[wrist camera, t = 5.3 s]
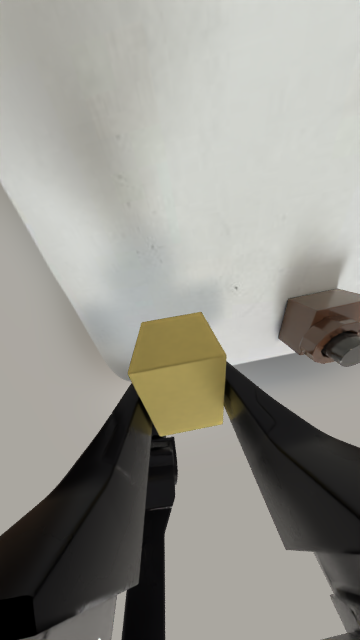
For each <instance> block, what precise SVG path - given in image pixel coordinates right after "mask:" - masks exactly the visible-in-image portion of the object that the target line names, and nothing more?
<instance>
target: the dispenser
mask: <svg viewBox="0 0 360 640" xmlns="http://www.w3.org/2000/svg"><path fill="white" fill-rule="evenodd" d="M345 331H350V332H352V333H354V334H356V335H359V336H360V294H357V293H353V292H349V291H345V290H341V289H333V290H328V291H324V292H319V293H314V294H309V295H305V296H300V297H295V298H290V299H288V303H287V307H286V311H285V314H284V318H283V322H282V326H281V330H280V334H279V339H280V340H281V341H282V342H284V343H285V344H286V345H288V346H289V347H290V348H291V349H293V350H294V351H295V352H296V353H298V354H299V355H303V354H305V355H307V356H308V357H309V358H311V359H312V360H313V361H315V362H318V363H322V364H325V363H329V362H334V360H332V359H331V358H329V357H328V356H326V355H325V354H323V353H322V349H323V347H324V345H325V344H326V343H327V342H328V341H329V340H330V339H331V338H333V337H334V336H336V335H338V334H340V333H342V332H345Z"/></svg>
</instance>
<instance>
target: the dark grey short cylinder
mask: <svg viewBox="0 0 360 640" xmlns="http://www.w3.org/2000/svg"><path fill="white" fill-rule="evenodd" d="M322 353H323V354H325V355H326V356H328V357H329V358H331V359H332V360H334V361H336V362H337V363H338V364H340V365H342V366H344V367H348V366H352V365H355V364H358V363H360V336H359V335H356V334H354V333H352V332H350V331H345V332H342V333H340V334H338V335H336V336H334V337H333V338H331V339H330V340H329V341H328V342H327V343H326V344H325V345H324V347H323V349H322Z"/></svg>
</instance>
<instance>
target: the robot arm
mask: <svg viewBox="0 0 360 640" xmlns="http://www.w3.org/2000/svg"><path fill="white" fill-rule="evenodd" d="M224 407H225V409H226V411H227V414H228V416H229V418H230V421H231V423H232V425H233V428H234V430H235V432H236V435H237V437H238V439H239V442H240V444H241V446H242V449H243V451H244V453H245V456H246V458H247V460H248V463H249V465H250V467H251V470H252V472H253V475H254V477H255V479H256V482H257V484H258V486H259V488H260V491H261V493H262V495H263V498H264V500H265V503H266V505H267V507H268V510H269V512H270V514H271V517H272V519H273V521H274V524H275V526H276V528H277V531H278V533H279V535H280V537H281V540H282V542H283V544H284V547H285V549H286V550H296V551H312V552H314V554H315V556H316V558H317V561H318V563H319V565H320V567H321V569H322V571H323V573H324V575H325V577H326V579H327V581H328V583H329V585H330V587H331V589H332V591H333V593H334V594H331V595H330V596H331V599H332V602H333V603H334V606H335V608H336V610H337V612H338V614H339V616H340V618H341V620H342V622H343V625H344V627H345V629H346V631H347V633H346V634H342V635H338V636H334V637H330V638H327V639H323V640H360V448H359V447H356V446H354V445H351V444H348V443H346V442H343V441H340V440H338V439H336V438H333V437H331V436H329V435H327V434H325V433H323V432H322V431H320V430H318V429H317V428H315V427H314V426H312V425H310V424H309V423H308V422H306V421H305V420H303V419H302V418H300V417H299V416H297V415H296V414H295V413H293V412H292V411H290V410H289V409H287V408H286V407H284V406H283V405H282V404H280V403H279V402H277V401H276V400H274V399H273V398H272V397H270V396H269V395H268V394H266V393H265V392H264V391H263V390H261V389H260V388H259V387H258V386H256V385H255V384H254V383H253V382H252V381H250V380H249V379H248V378H247V377H245V376H244V375H243V374H241V373H240V372H239V371H238V370H237V369H235V368H234V367H233V366H232V365H231V364H229V363H228V362H227V361H226V373H225V391H224ZM177 472H178V470H177V457H176V449H175V441H174V437H170V438H166V436H159V434H158V432H157V430H156V428H155V426H154V424H153V422H152V420H151V418H150V416H149V414H148V412H147V411H146V409H145V407H144V405H143V403H142V401H141V399H140V397H139V395H138V393H137V391H136V389H135V387H134V386H133V384H131V385H130V386H129V388H128V389H127V391H126V392H125V394H124V395H123V397H122V399H121V400H120V402H119V403H118V404H117V406H116V407H115V409H114V410H113V412H112V414H111V415H110V416H109V418H108V420H107V421H106V423H105V424H104V425H103V427H102V428H101V430H100V431H99V433H98V434H97V435H96V437H95V438H94V439H93V441H92V442H91V443H90V445H89V446H88V447H87V449H86V450H85V451H84V452H83V454H82V455H81V456H80V458H79V459H78V460H77V461H76V463H75V464H74V465H73V467H72V468H71V469H70V471H69V472H68V473H67V475H66V476H65V477H64V478H63V480H62V481H61V482H60V483H59V484H58V486H57V487H56V488H55V489H54V490H53V491H52V492H51V493H50V494H49V495H48V496H47V497H46V498H45V499H44V500H42V501H41V502H40V503H39V504H38V505H37V506H35V507H34V508H33V509H32V510H31V511H29V512H28V513H27V514H26V515H25V516H24V517H22V518H21V519H20V520H19V521H18V522H16V523H15V524H14V525H13V526H12V527H10V528H9V529H8V530H7V531H6V532H5V533H3V534H2V535H1V536H0V640H111V636H112V629H113V622H114V614H115V606H116V599H117V594H119V593H121V592H124V591H125V590H127V593H126V602H125V612H124V622H123V631H122V640H165V555H164V554H165V552H164V551H165V550H164V548H165V547H164V534H165V530H166V527H167V523H168V520H169V516H170V513H171V509H172V506H173V502H174V499H175V484H176V483H177V474H178V473H177Z"/></svg>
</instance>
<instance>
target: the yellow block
mask: <svg viewBox="0 0 360 640" xmlns="http://www.w3.org/2000/svg"><path fill="white" fill-rule="evenodd" d="M225 373H226V354H225V352H224V350H223V348H222V347H221V345H220V343H219V342H218V340H217V338H216V336H215V335H214V333H213V331H212V329H211V328H210V326H209V324H208V322H207V321H206V319H205V317H204V315H203V314H202V312H198V313H192V314H187V315H181V316H175V317H170V318H164V319H158V320H153V321H147V322H142V323H141V327H140V330H139V334H138V337H137V341H136V345H135V348H134V352H133V355H132V359H131V363H130V366H129V370H128V376H129V378H130V380H131V382H132V384H133V386H134V387H135V389H136V391H137V393H138V395H139V397H140V399H141V401H142V403H143V405H144V407H145V409H146V411H147V412H148V414H149V416H150V418H151V420H152V422H153V424H154V426H155V428H156V430H157V432H158V434H159V436H166V435H171V434H176V433H181V432H186V431H191V430H196V429H201V428H205V427H211V426H216V425H221V424H223V408H224V391H225Z"/></svg>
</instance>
